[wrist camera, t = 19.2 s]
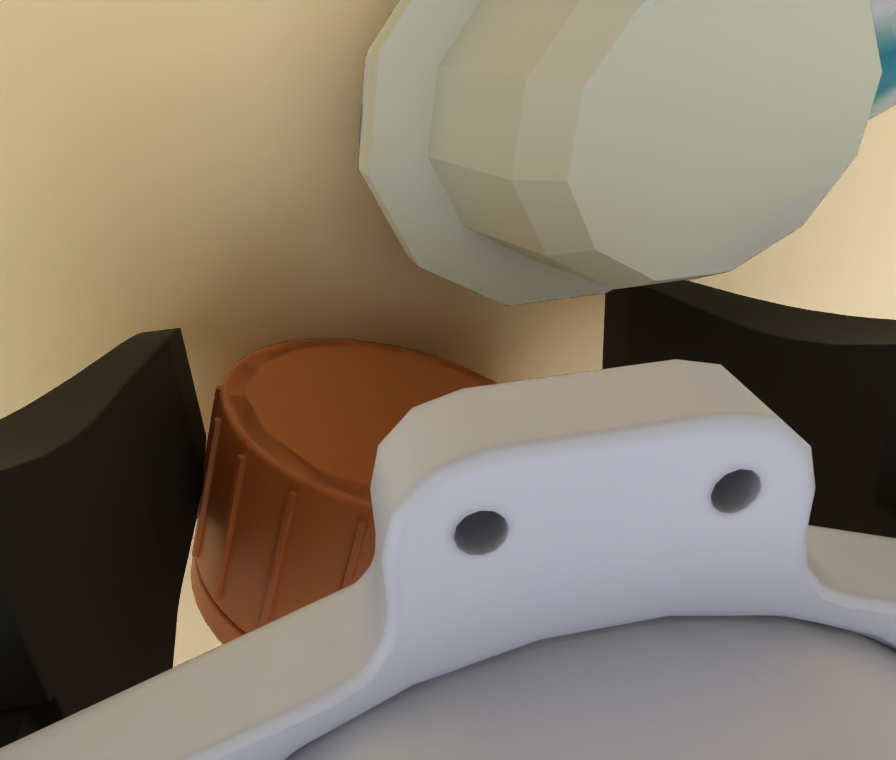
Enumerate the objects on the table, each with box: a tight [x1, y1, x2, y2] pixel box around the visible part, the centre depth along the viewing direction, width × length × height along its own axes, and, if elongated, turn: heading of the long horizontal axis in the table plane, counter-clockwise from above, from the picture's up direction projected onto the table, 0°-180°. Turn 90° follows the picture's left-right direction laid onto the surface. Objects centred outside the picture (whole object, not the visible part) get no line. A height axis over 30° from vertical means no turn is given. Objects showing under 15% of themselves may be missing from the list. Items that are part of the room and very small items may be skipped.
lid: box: [191, 339, 498, 644], centre depth 13 cm, size 6×6×3 cm
